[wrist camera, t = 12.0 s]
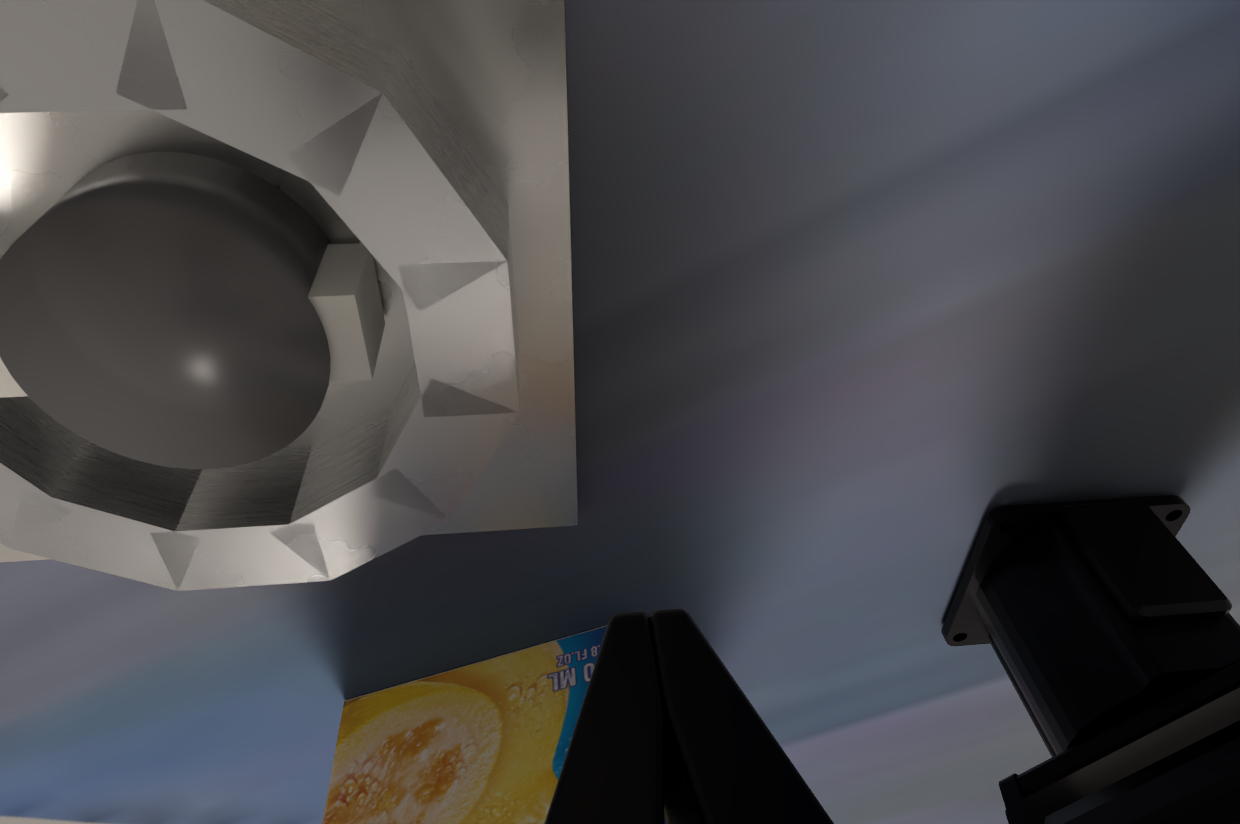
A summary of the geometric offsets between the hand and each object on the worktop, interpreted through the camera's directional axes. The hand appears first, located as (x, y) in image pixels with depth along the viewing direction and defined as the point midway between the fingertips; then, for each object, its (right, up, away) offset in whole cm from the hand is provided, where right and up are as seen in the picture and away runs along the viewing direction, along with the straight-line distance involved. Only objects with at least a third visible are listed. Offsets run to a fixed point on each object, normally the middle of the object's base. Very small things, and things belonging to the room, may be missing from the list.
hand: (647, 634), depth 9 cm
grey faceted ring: (-9, +5, +9) cm, 14 cm away
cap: (-9, +5, +9) cm, 14 cm away
